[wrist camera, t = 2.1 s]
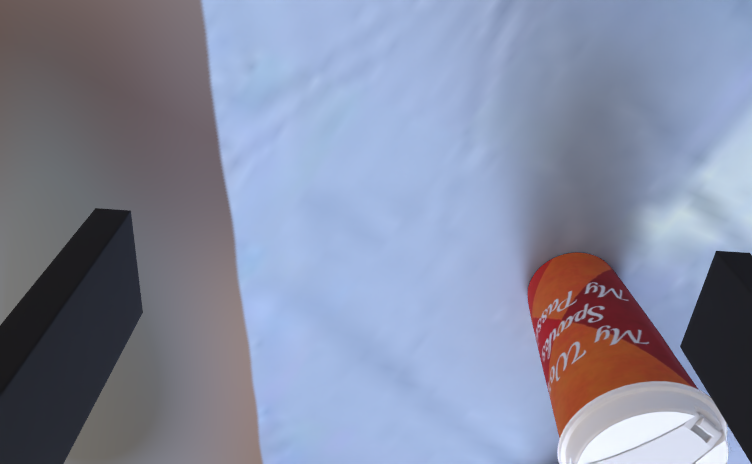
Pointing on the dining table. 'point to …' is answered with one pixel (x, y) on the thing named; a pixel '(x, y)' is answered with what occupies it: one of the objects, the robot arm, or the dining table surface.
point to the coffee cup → (615, 373)
